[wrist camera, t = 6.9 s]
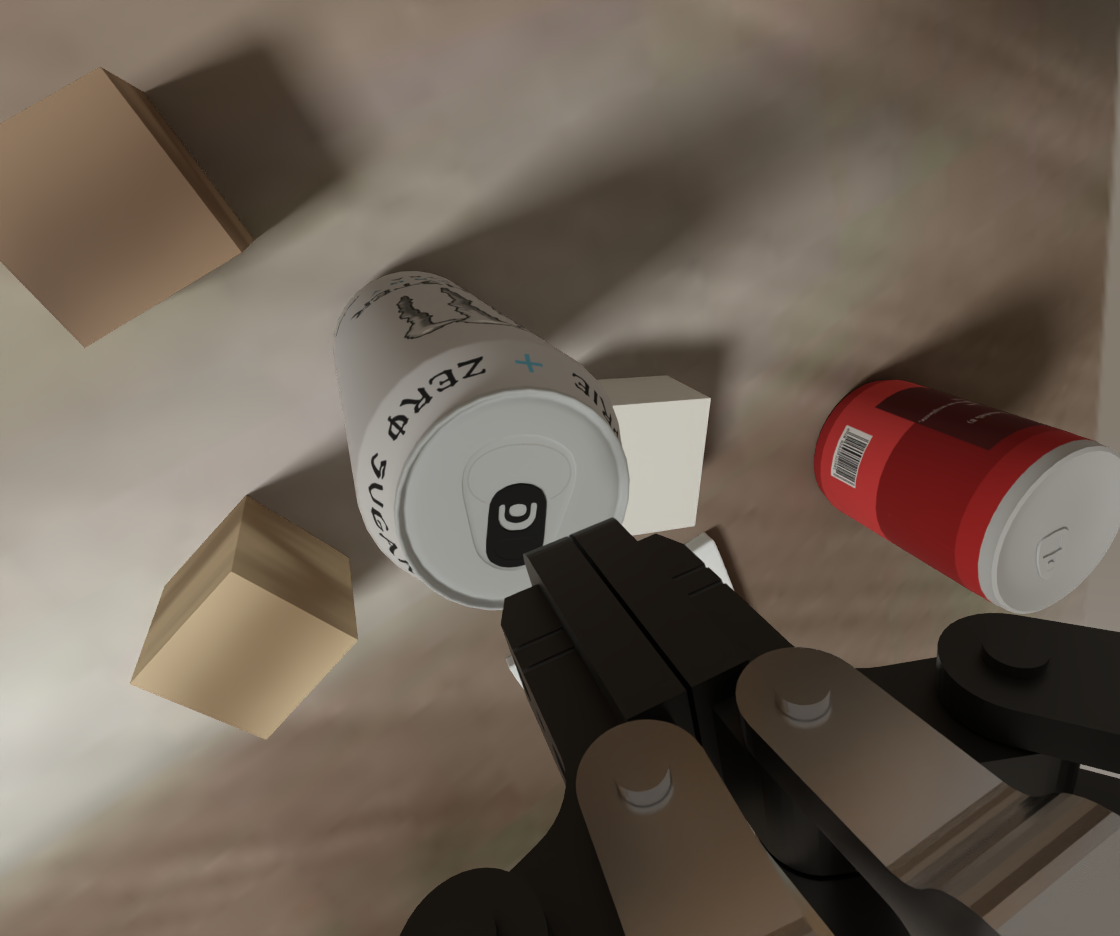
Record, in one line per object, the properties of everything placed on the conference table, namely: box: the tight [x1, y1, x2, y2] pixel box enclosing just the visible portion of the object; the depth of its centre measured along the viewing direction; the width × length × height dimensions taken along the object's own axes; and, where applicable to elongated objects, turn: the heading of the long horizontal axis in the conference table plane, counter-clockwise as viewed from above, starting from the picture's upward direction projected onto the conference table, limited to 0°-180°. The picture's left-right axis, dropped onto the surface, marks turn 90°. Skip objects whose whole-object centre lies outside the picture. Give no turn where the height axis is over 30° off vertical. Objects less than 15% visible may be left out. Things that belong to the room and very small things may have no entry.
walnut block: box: [0, 67, 254, 348], centre depth 19 cm, size 5×5×5 cm
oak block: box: [130, 495, 358, 739], centre depth 25 cm, size 5×5×6 cm
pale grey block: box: [597, 375, 711, 535], centre depth 29 cm, size 6×6×4 cm
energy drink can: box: [333, 271, 630, 610], centre depth 19 cm, size 6×6×15 cm
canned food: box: [814, 380, 1120, 614], centre depth 32 cm, size 8×8×11 cm
